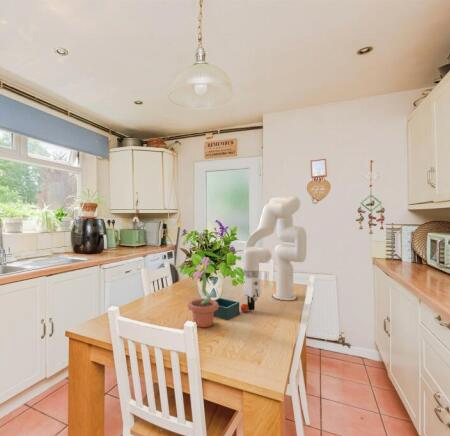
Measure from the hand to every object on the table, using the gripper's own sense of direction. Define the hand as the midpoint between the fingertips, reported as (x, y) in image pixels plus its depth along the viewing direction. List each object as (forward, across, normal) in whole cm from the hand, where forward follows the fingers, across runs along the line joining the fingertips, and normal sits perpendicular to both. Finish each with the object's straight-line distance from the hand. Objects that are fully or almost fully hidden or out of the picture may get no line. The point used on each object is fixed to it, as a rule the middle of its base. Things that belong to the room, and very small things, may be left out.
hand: (251, 309), depth 140 cm
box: (+1, 0, +15) cm, 15 cm away
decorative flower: (+1, -10, +29) cm, 31 cm away
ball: (+1, 0, +3) cm, 3 cm away
